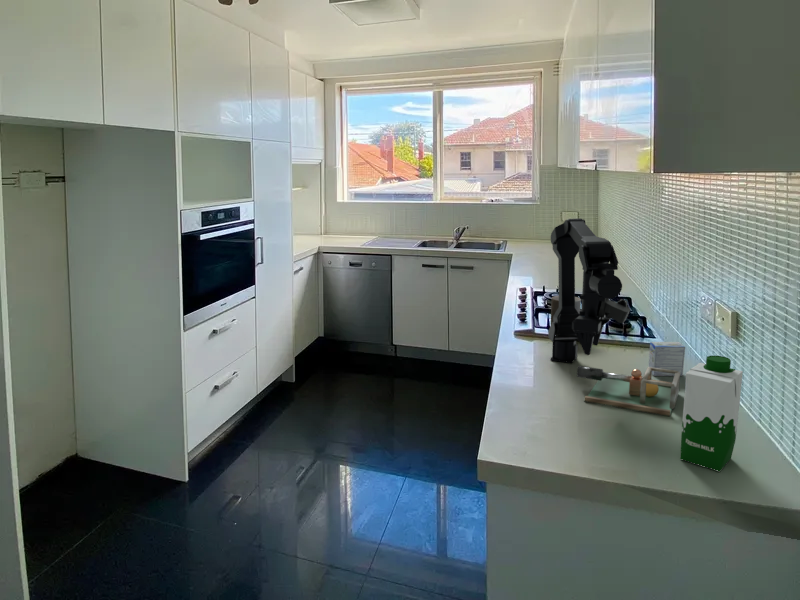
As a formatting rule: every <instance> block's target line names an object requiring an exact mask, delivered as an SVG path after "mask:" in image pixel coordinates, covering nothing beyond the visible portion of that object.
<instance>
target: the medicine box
mask: <svg viewBox="0 0 800 600" xmlns="http://www.w3.org/2000/svg"><path fill="white" fill-rule="evenodd" d="M685 354H686V346H685V345H684V344H682V343H681V342H679V341H651V342H650V343H649V354H648V355H649V356H648V367H653V368H660V369H668V370H675V371H678V372H680V377H681V376H684V365H685ZM658 376H659V377H660V376H661V377H663V376H664V377H665V376H667V377H669V376H671V377H674V376H675V374H673V373H666V372H659V371H652V377H658Z"/></svg>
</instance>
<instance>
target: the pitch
mask: <svg viewBox="0 0 800 600" xmlns="http://www.w3.org/2000/svg"><path fill="white" fill-rule="evenodd" d="M652 371H659V372H666V373H673V374H675V376H673V380H672V381H664V380H659V379H658V380H657V379H652V377H653V375H652ZM680 378H681V376H680V372H678V371H675V370H668V369H660V368H653V367H649V366H647V368H646V370H645V372H644V374H643V376H642V380H641V390H640V395H639V396H636V395H630V394H629V385H630V382H625V381H618V380H611V379H605V378H602V381H600V380H596V381H597V382H596V383H595V384H594V386H593V387H592V389H591V390H590V392H589V393H588V395H585V396H584V402H585V403H590V404H595V405H601V406H607V407H613V408H618V409H624V410H630V411H636V412H642V413H647V414H651V415H652V414H653V415H658V416H664V417H671V413H672V410H674V409H675V407H676V404H677V400H678V396H679V391H680V380H681V379H680ZM646 383H648V384H655V385H658V388H659V391H658V393H657V394H656V395H655V396H653V397H648V396H646Z"/></svg>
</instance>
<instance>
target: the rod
mask: <svg viewBox="0 0 800 600" xmlns="http://www.w3.org/2000/svg"><path fill="white" fill-rule="evenodd" d="M576 377H577V378H581V379H588V380H594V381H598V380H600V381H602V378H605V379H611V380H618V381H625V382H630V385H629V394H630V395H636V396H639V395H640V390H641V380H642V378H643V376H642V371H641V370H640V369H638V368H635V369H632V371H631V373H630V375H626V374H619V373H613V372H611V373H610V372H605V371H604V369H603V368H597V367H590V366H583V365H578V366H577V369H576Z"/></svg>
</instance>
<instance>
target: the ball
mask: <svg viewBox="0 0 800 600" xmlns="http://www.w3.org/2000/svg"><path fill="white" fill-rule="evenodd" d="M658 391H659V388H658V385H655V384H648V383H646V396H648V397H653V396H655V395H656V394H657V393H658Z"/></svg>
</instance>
